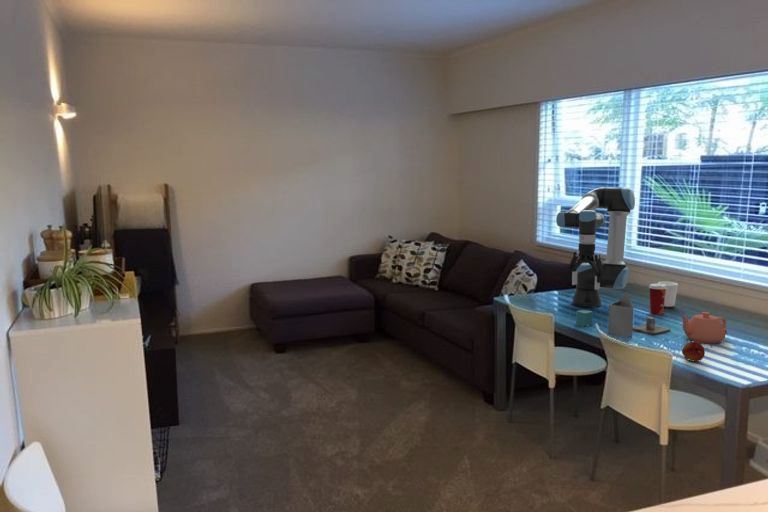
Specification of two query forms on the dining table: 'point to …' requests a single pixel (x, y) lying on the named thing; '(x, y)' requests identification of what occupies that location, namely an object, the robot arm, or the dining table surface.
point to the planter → (621, 317)
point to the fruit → (693, 351)
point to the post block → (650, 328)
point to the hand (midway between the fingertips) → (585, 286)
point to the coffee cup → (657, 298)
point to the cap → (584, 317)
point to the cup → (670, 293)
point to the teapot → (705, 328)
